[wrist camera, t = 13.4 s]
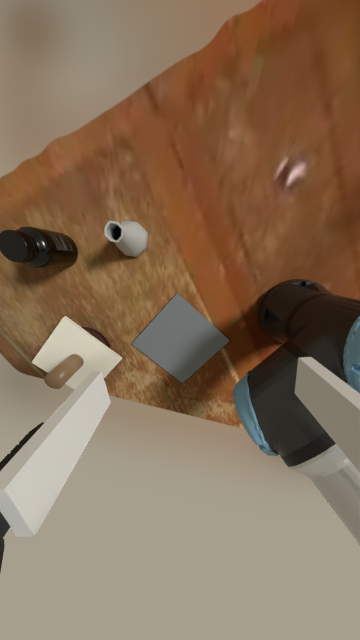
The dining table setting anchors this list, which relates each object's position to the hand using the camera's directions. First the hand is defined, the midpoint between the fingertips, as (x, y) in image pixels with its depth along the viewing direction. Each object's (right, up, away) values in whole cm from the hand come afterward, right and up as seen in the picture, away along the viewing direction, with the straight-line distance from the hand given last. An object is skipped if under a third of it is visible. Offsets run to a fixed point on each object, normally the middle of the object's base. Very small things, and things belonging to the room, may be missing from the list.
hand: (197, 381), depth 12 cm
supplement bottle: (-27, +20, +27) cm, 43 cm away
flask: (-12, +22, +26) cm, 36 cm away
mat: (-1, -2, +33) cm, 33 cm away
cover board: (-25, -5, +29) cm, 38 cm away
